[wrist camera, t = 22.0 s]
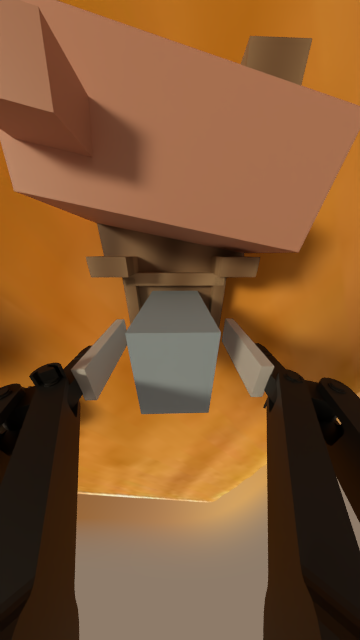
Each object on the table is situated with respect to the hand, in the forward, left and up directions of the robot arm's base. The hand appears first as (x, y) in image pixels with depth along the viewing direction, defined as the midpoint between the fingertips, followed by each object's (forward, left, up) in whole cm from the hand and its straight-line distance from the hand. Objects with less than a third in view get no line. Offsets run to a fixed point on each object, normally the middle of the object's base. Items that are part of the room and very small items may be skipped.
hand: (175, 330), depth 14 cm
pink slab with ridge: (0, +11, -3) cm, 11 cm away
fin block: (0, 0, -3) cm, 3 cm away
